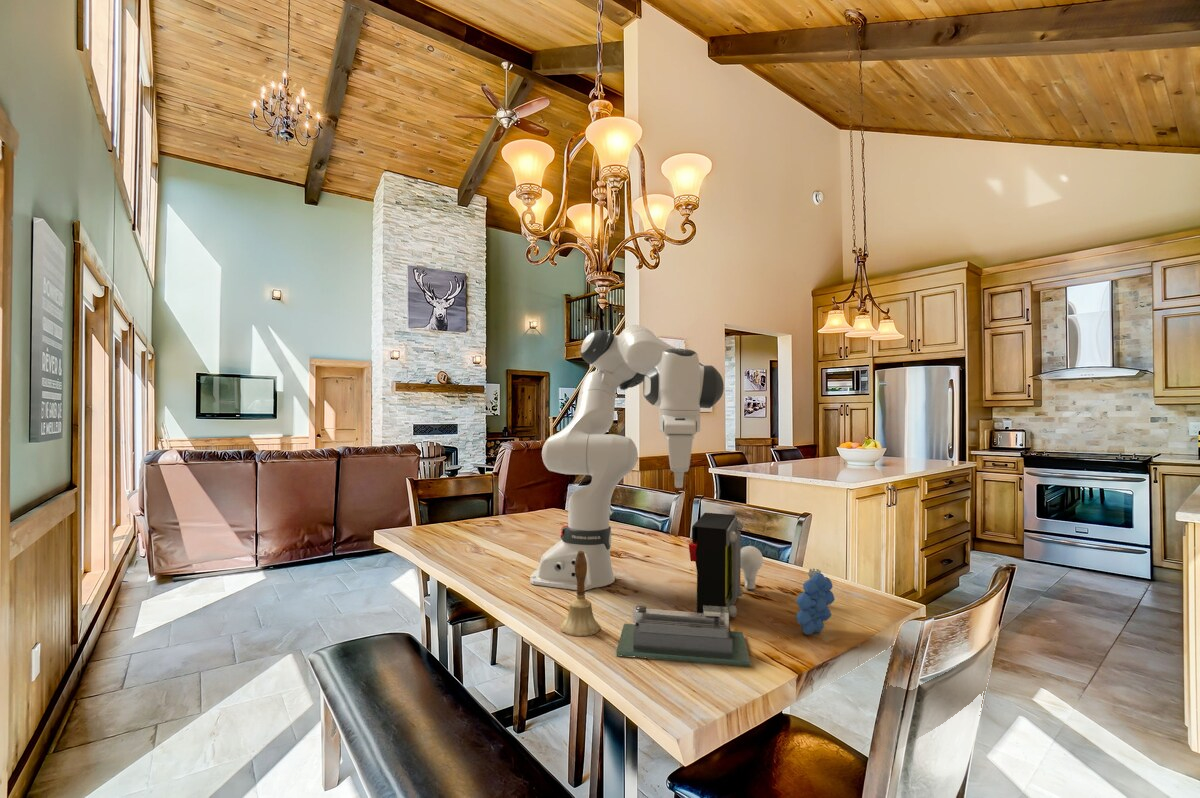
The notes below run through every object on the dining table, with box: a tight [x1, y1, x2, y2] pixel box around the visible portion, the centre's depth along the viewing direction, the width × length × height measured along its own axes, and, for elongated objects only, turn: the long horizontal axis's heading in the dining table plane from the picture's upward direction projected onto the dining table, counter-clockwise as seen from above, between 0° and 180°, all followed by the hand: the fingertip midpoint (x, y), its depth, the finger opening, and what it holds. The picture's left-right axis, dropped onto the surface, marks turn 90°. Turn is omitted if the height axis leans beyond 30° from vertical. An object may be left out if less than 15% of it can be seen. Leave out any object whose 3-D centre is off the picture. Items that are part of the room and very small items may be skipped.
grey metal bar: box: [632, 605, 714, 624], centre depth 105 cm, size 16×2×3 cm, turn 79°
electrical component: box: [688, 512, 744, 618], centre depth 127 cm, size 18×10×20 cm, turn 160°
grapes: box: [795, 573, 835, 636], centre depth 113 cm, size 12×7×12 cm, turn 127°
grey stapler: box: [615, 605, 751, 668], centre depth 105 cm, size 24×13×8 cm, turn 81°
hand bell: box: [559, 551, 601, 637], centre depth 113 cm, size 8×8×16 cm
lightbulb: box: [741, 545, 764, 591], centre depth 139 cm, size 6×6×11 cm
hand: (678, 486), depth 118 cm, fingers closed
